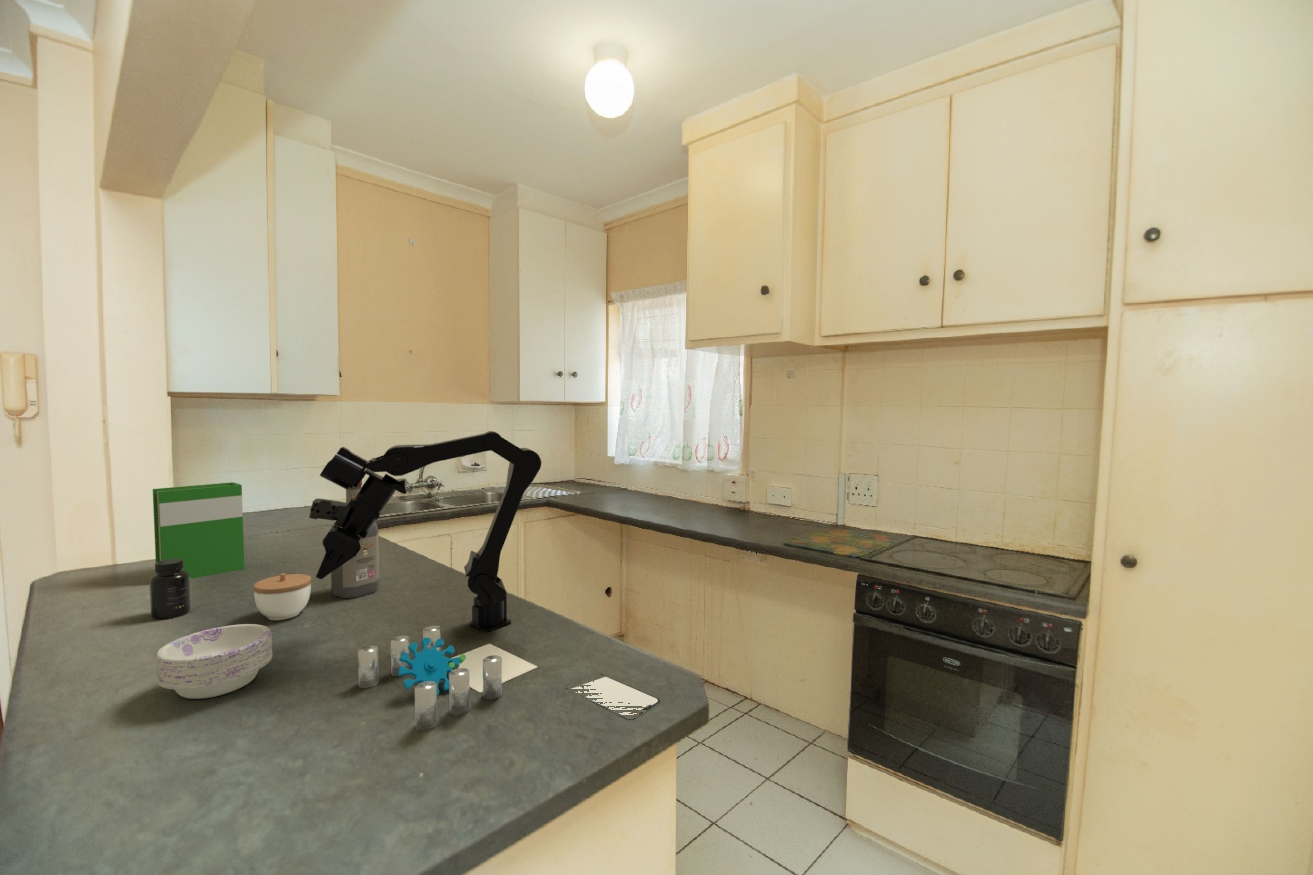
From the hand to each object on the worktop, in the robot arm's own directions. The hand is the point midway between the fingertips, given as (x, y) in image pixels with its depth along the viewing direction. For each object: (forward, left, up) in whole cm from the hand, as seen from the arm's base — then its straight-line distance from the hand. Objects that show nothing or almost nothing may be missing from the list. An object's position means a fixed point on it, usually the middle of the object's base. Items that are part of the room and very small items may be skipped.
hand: (322, 571), depth 109 cm
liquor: (-17, -28, -15) cm, 36 cm away
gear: (-5, +31, -15) cm, 35 cm away
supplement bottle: (+16, -43, -15) cm, 48 cm away
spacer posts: (-4, +31, -15) cm, 35 cm away
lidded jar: (0, -24, -15) cm, 28 cm away
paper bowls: (+18, +3, -15) cm, 23 cm away
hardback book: (+4, -75, -15) cm, 77 cm away
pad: (-15, +31, -15) cm, 38 cm away
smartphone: (-23, +55, -16) cm, 62 cm away
